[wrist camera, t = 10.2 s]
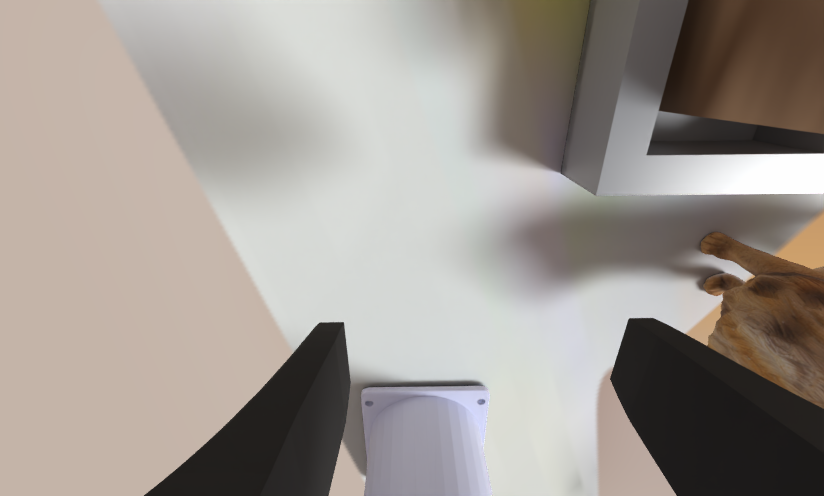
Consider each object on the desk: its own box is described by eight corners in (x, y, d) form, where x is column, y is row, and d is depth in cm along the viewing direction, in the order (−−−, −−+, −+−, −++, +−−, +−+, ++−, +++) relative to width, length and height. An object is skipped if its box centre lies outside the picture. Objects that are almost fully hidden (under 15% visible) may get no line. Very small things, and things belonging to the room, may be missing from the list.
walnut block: (737, 106, 15) (1040, 134, 8) (643, 108, 15) (858, 139, 8) (778, -9, 13) (1212, -108, 6) (670, -6, 13) (979, -102, 6)
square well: (762, 171, 17) (844, 192, 14) (560, 173, 17) (596, 195, 14) (873, -95, 13) (1028, -153, 10) (606, -94, 13) (673, -150, 9)
